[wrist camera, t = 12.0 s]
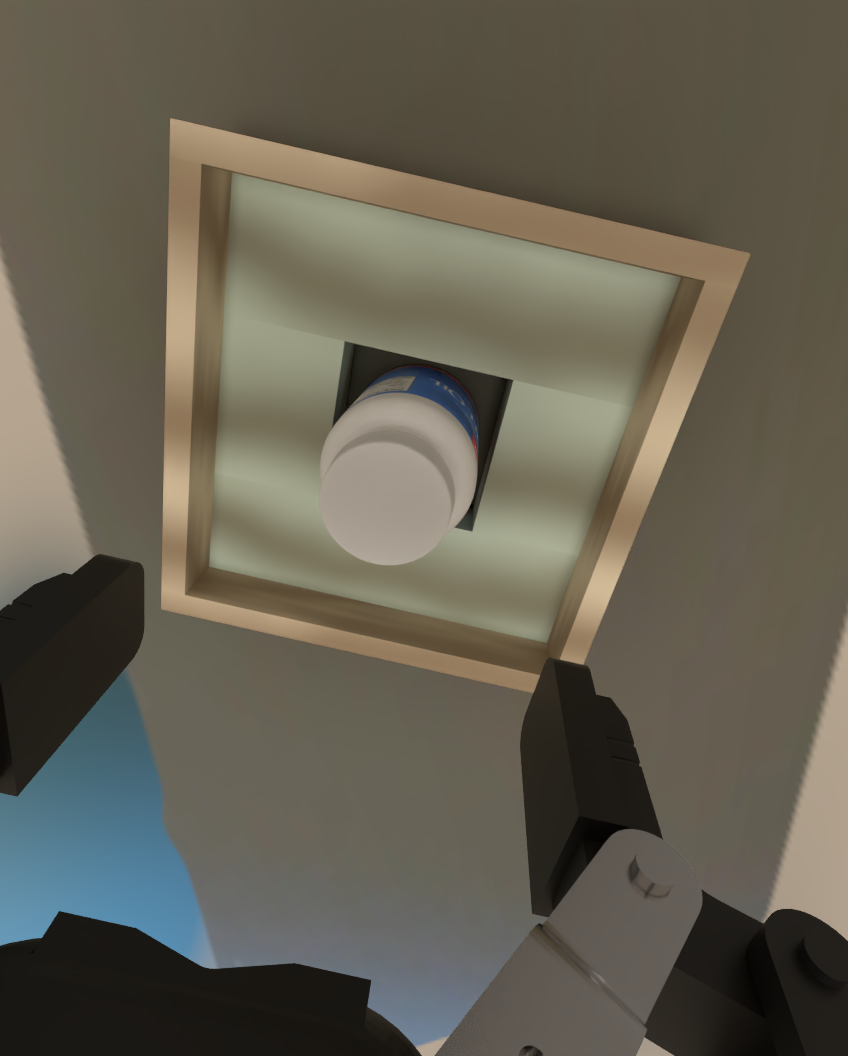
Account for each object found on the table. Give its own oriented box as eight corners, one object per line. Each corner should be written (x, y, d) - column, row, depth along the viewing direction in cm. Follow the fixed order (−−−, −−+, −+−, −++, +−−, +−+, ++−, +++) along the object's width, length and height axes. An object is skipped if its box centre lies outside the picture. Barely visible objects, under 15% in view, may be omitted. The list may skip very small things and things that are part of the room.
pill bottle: (498, 454, 27) (506, 556, 18) (391, 498, 28) (349, 612, 19) (448, 338, 25) (429, 388, 16) (335, 391, 26) (261, 464, 17)
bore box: (232, 144, 23) (170, 118, 18) (697, 252, 23) (750, 253, 18) (208, 555, 30) (161, 609, 26) (555, 633, 30) (568, 700, 26)
